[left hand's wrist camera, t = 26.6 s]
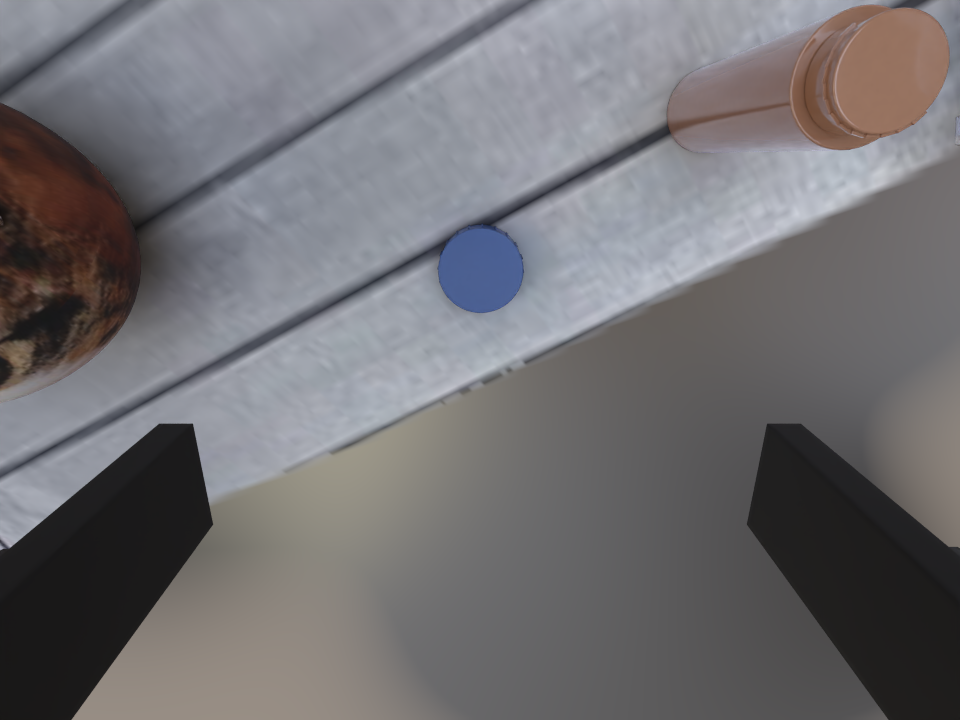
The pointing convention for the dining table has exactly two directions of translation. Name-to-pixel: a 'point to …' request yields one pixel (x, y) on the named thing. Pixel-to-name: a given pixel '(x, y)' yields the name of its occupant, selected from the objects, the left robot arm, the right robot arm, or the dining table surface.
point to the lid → (480, 268)
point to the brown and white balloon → (57, 258)
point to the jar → (816, 85)
